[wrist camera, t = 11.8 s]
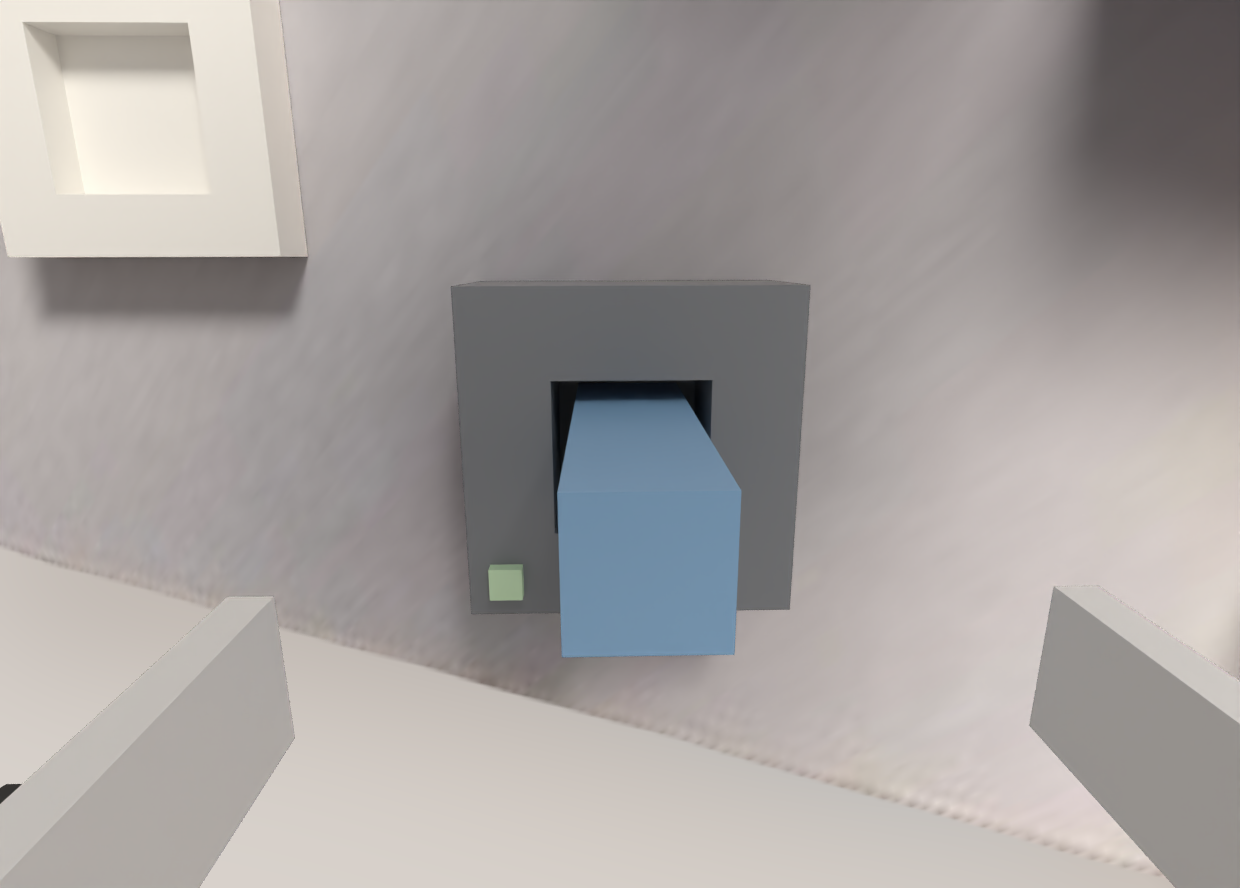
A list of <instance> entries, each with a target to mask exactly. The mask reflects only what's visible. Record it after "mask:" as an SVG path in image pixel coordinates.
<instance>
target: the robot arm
mask: <svg viewBox="0 0 1240 888" xmlns="http://www.w3.org/2000/svg"><path fill="white" fill-rule="evenodd" d="M1029 726H1030V727H1031V728H1032V729H1033V730H1034V731H1035V732H1036V733H1037V735H1038V736H1039V737H1040V738H1041V739H1042V740H1043V741H1044V742H1045V743H1046V745H1047V746H1048V747H1049V748H1050V749H1051V750H1052V751H1053V752H1054V753H1055V755H1056V756H1057V757H1058V758H1059V759H1060V760H1061V761H1062V762H1063V763H1064V765H1065V766H1066V767H1067V768H1068V769H1069V770H1070V771H1071V772H1072V773H1073V775H1074V776H1075V777H1076V778H1077V779H1078V780H1079V781H1080V782H1081V783H1082V785H1083V786H1084V787H1085V788H1086V789H1087V790H1088V791H1089V792H1090V793H1091V795H1092V796H1093V797H1094V798H1095V799H1096V800H1097V801H1098V802H1099V803H1100V805H1101V806H1102V807H1103V808H1104V809H1105V810H1106V811H1107V812H1108V813H1109V815H1110V816H1111V817H1112V818H1113V819H1114V820H1115V821H1116V822H1117V823H1118V825H1119V826H1120V827H1121V828H1122V829H1123V830H1124V831H1125V832H1126V833H1127V835H1128V836H1129V837H1130V838H1131V839H1132V840H1133V841H1134V842H1135V843H1136V845H1137V846H1138V847H1139V848H1140V849H1141V850H1142V851H1143V852H1144V853H1145V855H1146V856H1147V857H1148V858H1149V859H1150V860H1151V861H1152V862H1153V863H1154V865H1155V866H1156V867H1157V868H1158V869H1159V870H1160V871H1161V872H1162V873H1163V875H1164V876H1165V877H1166V878H1167V879H1168V880H1169V881H1170V882H1171V883H1172V884H1173V886H1174V887H1175V888H1240V681H1239V680H1238V679H1236V678H1235V677H1233V676H1232V675H1230V674H1229V673H1227V672H1226V671H1224V670H1223V669H1221V668H1220V667H1218V666H1217V665H1215V664H1214V663H1212V662H1211V661H1210V660H1208V659H1207V658H1205V657H1204V656H1202V655H1201V654H1199V653H1198V652H1196V651H1195V650H1193V649H1192V648H1190V647H1189V646H1187V645H1186V644H1184V643H1183V642H1181V641H1180V640H1178V639H1177V638H1175V637H1174V636H1172V635H1171V634H1169V633H1168V632H1166V631H1165V630H1163V629H1162V628H1160V627H1159V626H1157V625H1156V624H1155V623H1153V622H1152V621H1150V620H1149V619H1147V618H1146V617H1144V616H1143V615H1141V614H1140V613H1138V612H1137V611H1135V610H1134V609H1132V608H1131V607H1129V606H1128V605H1126V604H1125V603H1123V602H1122V601H1120V600H1119V599H1117V598H1116V597H1114V596H1113V595H1111V594H1110V593H1108V592H1107V591H1105V590H1104V589H1102V588H1101V587H1100V586H1054V588H1053V594H1052V599H1051V605H1050V611H1049V616H1048V622H1047V628H1046V633H1045V639H1044V645H1043V650H1042V656H1041V662H1040V667H1039V673H1038V679H1037V684H1036V690H1035V696H1034V702H1033V707H1032V713H1031V719H1030V724H1029ZM294 738H295V736H294V729H293V722H292V715H291V708H290V701H289V695H288V689H287V681H286V674H285V667H284V660H283V654H282V647H281V640H280V633H279V626H278V619H277V613H276V606H275V599H274V596H249V597H227V598H226V599H225V600H223V601H222V602H221V603H220V604H219V605H218V606H217V607H216V608H215V609H214V610H212V611H211V612H210V613H209V614H208V615H207V616H206V617H205V618H204V619H203V620H202V621H200V622H199V623H198V624H197V625H196V626H195V627H194V628H193V629H192V630H191V631H190V632H188V633H187V634H186V635H185V636H184V637H183V638H182V639H181V640H180V641H178V643H176V644H175V645H174V646H173V647H172V648H171V649H170V650H169V651H168V652H167V653H166V654H164V655H163V656H162V657H161V658H160V659H159V660H158V661H157V662H156V663H154V664H153V665H152V666H151V667H150V668H149V669H148V670H147V671H146V672H145V673H143V674H142V675H141V676H140V677H139V678H138V679H137V680H136V681H135V682H134V683H132V684H131V685H130V686H129V687H128V688H127V689H126V690H125V691H124V692H123V693H121V694H120V695H119V696H118V697H117V698H116V699H115V700H114V701H113V702H112V703H111V704H109V705H108V707H106V708H105V709H104V710H103V711H102V712H101V713H100V714H98V715H97V716H96V717H95V718H94V719H93V720H92V721H91V722H90V723H89V724H88V725H86V726H85V727H84V728H83V729H82V730H81V731H80V732H79V733H78V734H77V735H76V736H74V737H73V738H72V739H71V740H70V741H69V742H68V743H67V744H66V745H64V746H63V748H61V749H60V750H59V751H58V752H57V753H56V754H55V755H54V756H52V757H51V758H50V759H49V760H48V761H47V762H46V763H45V764H44V765H43V766H41V767H40V768H39V769H38V770H37V771H36V772H35V773H34V774H33V775H32V776H31V777H29V778H28V779H27V780H26V781H25V782H24V783H23V784H6V785H4V786H3V787H1V788H0V888H199V887H200V886H201V884H202V883H203V881H204V880H205V878H206V876H207V875H208V873H209V872H210V870H211V868H212V867H213V865H214V864H215V862H216V861H217V859H218V858H219V856H220V854H221V853H222V851H223V850H224V848H225V847H226V845H227V843H228V842H229V840H230V839H231V837H232V836H233V834H234V833H235V831H236V829H237V828H238V826H239V825H240V823H241V822H242V820H243V818H244V817H245V815H246V814H247V812H248V810H249V809H250V807H251V806H252V804H253V803H254V801H255V800H256V798H257V796H258V795H259V793H260V792H261V790H262V788H263V787H264V785H265V784H266V782H267V781H268V779H269V778H270V776H271V774H272V773H273V771H274V769H275V768H276V767H277V765H278V764H279V762H280V760H281V759H282V757H283V756H284V754H285V753H286V751H287V749H288V748H289V746H290V745H291V743H292V741H293V740H294Z"/></svg>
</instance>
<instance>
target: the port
mask: <svg viewBox="0 0 1240 888" xmlns="http://www.w3.org/2000/svg"><path fill="white" fill-rule="evenodd" d="M451 295H452V311H453V327H454V342H455V358H456V374H457V390H458V406H459V422H460V438H461V454H462V470H463V486H464V502H465V518H466V534H467V550H468V565H469V581H470V597H471V613H472V614H518V613H561V610H560V573H559V536H558V499H557V492H558V487H559V481H560V476H561V471H562V466H563V461H564V456H565V450H566V445H567V440H568V435H569V430H570V424H571V419H572V414H573V409H574V404H575V399H576V393H577V388H578V383H668V382H676V383H677V385H678V387H679V388H680V390H681V392H682V393H683V395H684V397H685V398H686V400H687V402H688V403H689V405H690V407H691V408H692V410H693V412H694V413H695V415H696V416H697V418H698V420H699V421H700V423H701V425H702V426H703V428H704V430H705V431H706V433H707V435H708V436H709V438H710V440H711V441H712V443H713V445H714V446H715V448H716V450H717V451H718V453H719V454H720V456H721V458H722V459H723V461H724V463H725V464H726V466H727V468H728V469H729V471H730V473H731V474H732V476H733V478H734V479H735V481H736V483H737V484H738V486H739V487H740V489H741V514H740V537H739V560H738V583H737V606H736V610H789V609H790V596H791V580H792V565H793V549H794V534H795V518H796V502H797V487H798V471H799V456H800V440H801V425H802V409H803V394H804V378H805V363H806V347H807V332H808V316H809V300H810V285H806V284H798V283H789V282H781V281H772V280H682V281H480V282H474V283H468V284H462V285H456V286H451Z"/></svg>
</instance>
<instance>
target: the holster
mask: <svg viewBox="0 0 1240 888" xmlns="http://www.w3.org/2000/svg"><path fill="white" fill-rule="evenodd" d="M0 223H1V228H2V232H3V237H4V241H5V246H6V251H7V255H8V257H47V258H80V257H308V254H307V245H306V236H305V227H304V218H303V209H302V200H301V191H300V183H299V174H298V165H297V156H296V147H295V138H294V129H293V120H292V111H291V102H290V93H289V84H288V76H287V67H286V58H285V49H284V40H283V31H282V22H281V13H280V4H279V0H0Z"/></svg>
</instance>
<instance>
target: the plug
mask: <svg viewBox="0 0 1240 888" xmlns="http://www.w3.org/2000/svg"><path fill="white" fill-rule="evenodd" d="M557 499H558V536H559V573H560V610H561V647H562V657H614V656H676V655H734V653H735V630H736V606H737V583H738V560H739V537H740V514H741V489H740V487H739V486H738V484H737V483H736V481H735V479H734V478H733V476H732V474H731V473H730V471H729V469H728V468H727V466H726V464H725V463H724V461H723V459H722V458H721V456H720V454H719V453H718V451H717V450H716V448H715V446H714V445H713V443H712V441H711V440H710V438H709V436H708V435H707V433H706V431H705V430H704V428H703V426H702V425H701V423H700V421H699V420H698V418H697V416H696V415H695V413H694V412H693V410H692V408H691V407H690V405H689V403H688V402H687V400H686V398H685V397H684V395H683V393H682V392H681V390H680V388H679V387H678V385H677V383H676V382H668V383H578V388H577V393H576V399H575V404H574V409H573V414H572V419H571V424H570V430H569V435H568V440H567V445H566V450H565V456H564V461H563V466H562V471H561V476H560V481H559V487H558V492H557Z"/></svg>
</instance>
